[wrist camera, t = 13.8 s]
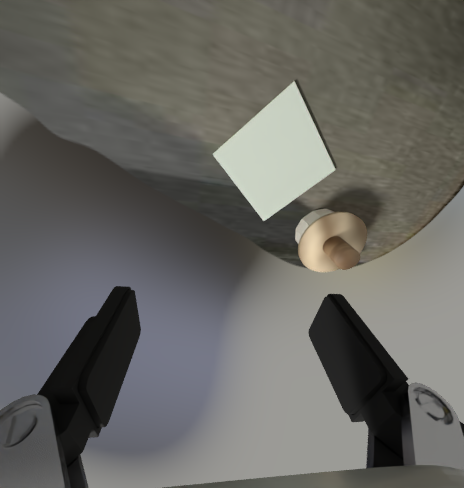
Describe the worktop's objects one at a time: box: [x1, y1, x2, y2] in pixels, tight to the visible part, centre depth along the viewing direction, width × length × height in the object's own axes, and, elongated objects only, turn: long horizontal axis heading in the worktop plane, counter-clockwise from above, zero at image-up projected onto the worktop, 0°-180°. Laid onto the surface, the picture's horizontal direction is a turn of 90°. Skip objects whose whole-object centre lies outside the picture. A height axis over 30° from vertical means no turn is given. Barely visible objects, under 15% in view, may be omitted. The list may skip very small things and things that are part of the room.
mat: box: [213, 81, 335, 221], centre depth 35 cm, size 16×16×1 cm
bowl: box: [295, 209, 334, 244], centre depth 41 cm, size 10×10×6 cm
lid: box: [298, 212, 367, 272], centre depth 36 cm, size 13×13×6 cm
